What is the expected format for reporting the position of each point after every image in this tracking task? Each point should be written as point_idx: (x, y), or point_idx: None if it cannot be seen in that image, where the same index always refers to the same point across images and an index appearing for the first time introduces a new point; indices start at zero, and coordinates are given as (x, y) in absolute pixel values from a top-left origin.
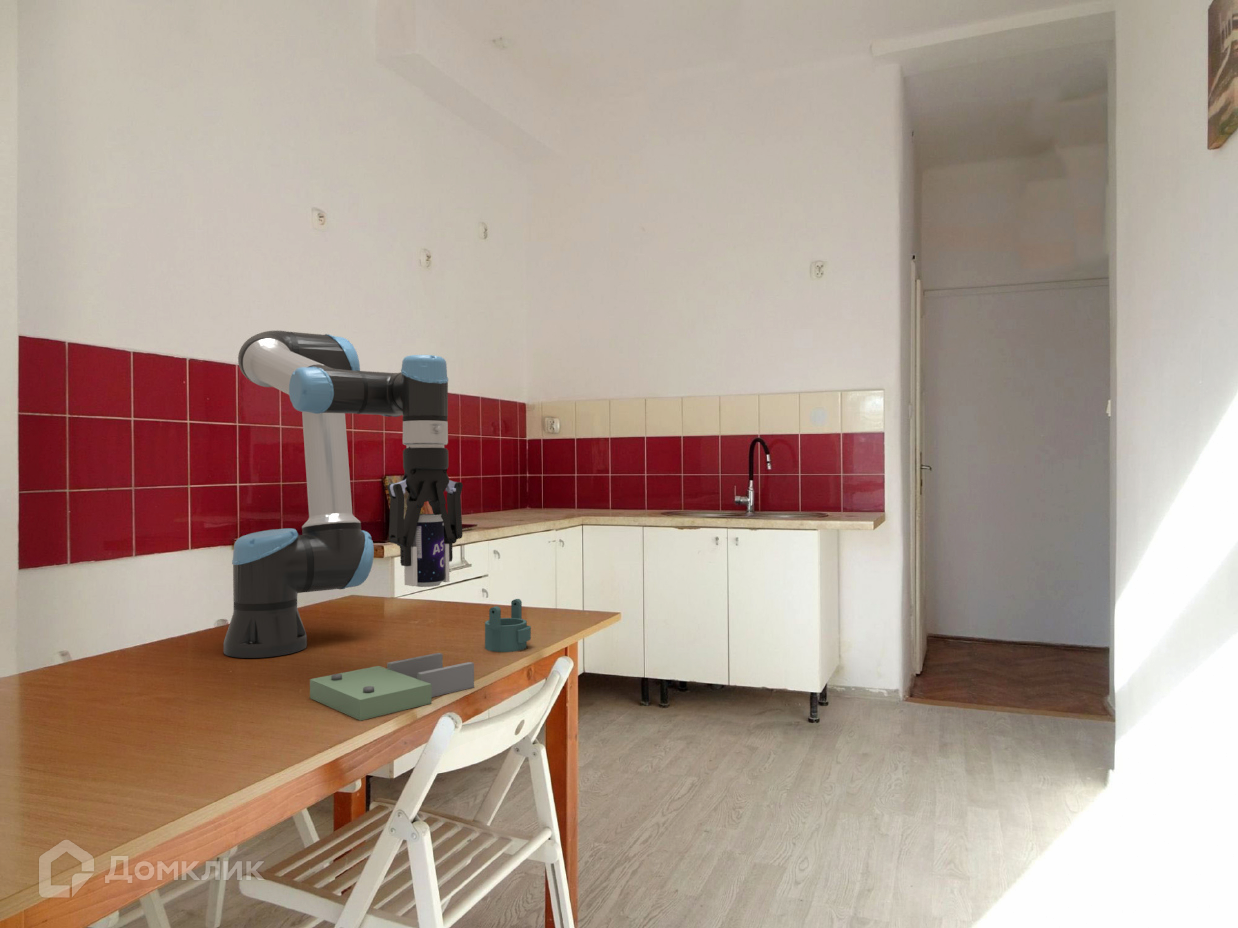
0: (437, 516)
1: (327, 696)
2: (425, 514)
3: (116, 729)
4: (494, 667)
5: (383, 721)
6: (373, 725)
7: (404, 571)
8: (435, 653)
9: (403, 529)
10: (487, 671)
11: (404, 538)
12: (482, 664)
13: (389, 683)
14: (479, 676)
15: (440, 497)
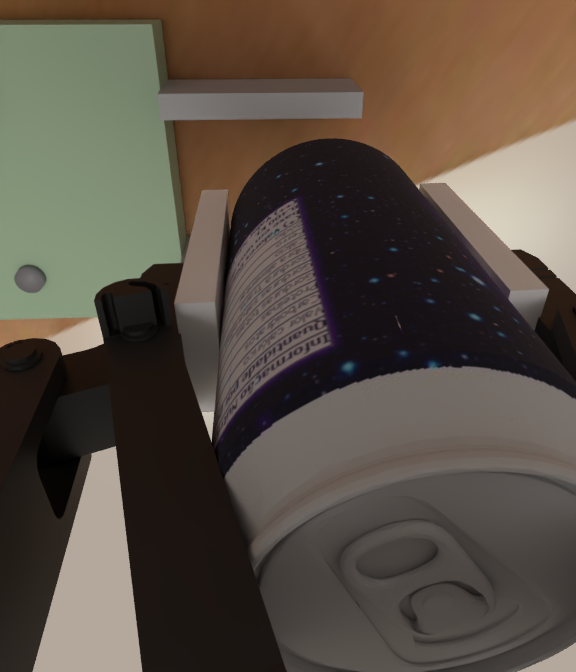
0: (448, 666)
1: None
2: (566, 482)
3: None
4: (523, 119)
5: (57, 327)
6: (32, 334)
7: (194, 220)
8: (349, 93)
9: (69, 535)
10: (475, 144)
11: (113, 443)
12: (535, 55)
13: (103, 246)
14: (421, 174)
15: None
